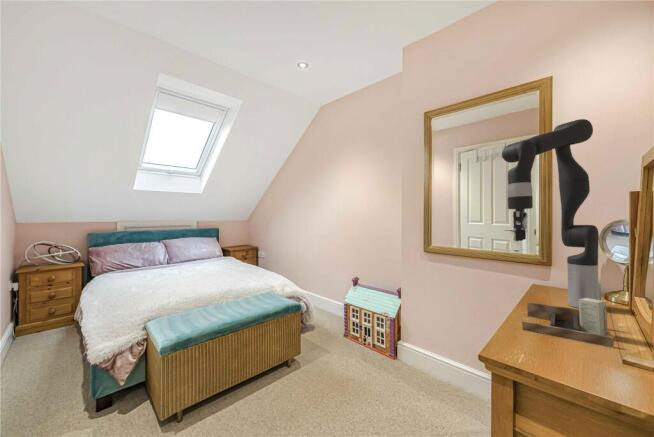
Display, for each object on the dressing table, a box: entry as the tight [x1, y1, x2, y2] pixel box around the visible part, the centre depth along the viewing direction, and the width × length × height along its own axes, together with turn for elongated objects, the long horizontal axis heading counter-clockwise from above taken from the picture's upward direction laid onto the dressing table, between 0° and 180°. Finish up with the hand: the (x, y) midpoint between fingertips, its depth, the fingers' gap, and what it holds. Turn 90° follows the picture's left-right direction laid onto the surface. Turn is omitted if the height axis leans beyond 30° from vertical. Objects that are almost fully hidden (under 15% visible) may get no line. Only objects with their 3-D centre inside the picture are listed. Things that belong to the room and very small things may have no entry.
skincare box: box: [578, 298, 609, 336], centre depth 84 cm, size 5×4×10 cm
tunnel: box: [521, 301, 615, 348], centre depth 89 cm, size 20×18×5 cm
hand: (520, 240), depth 101 cm, fingers open, 8 cm apart
